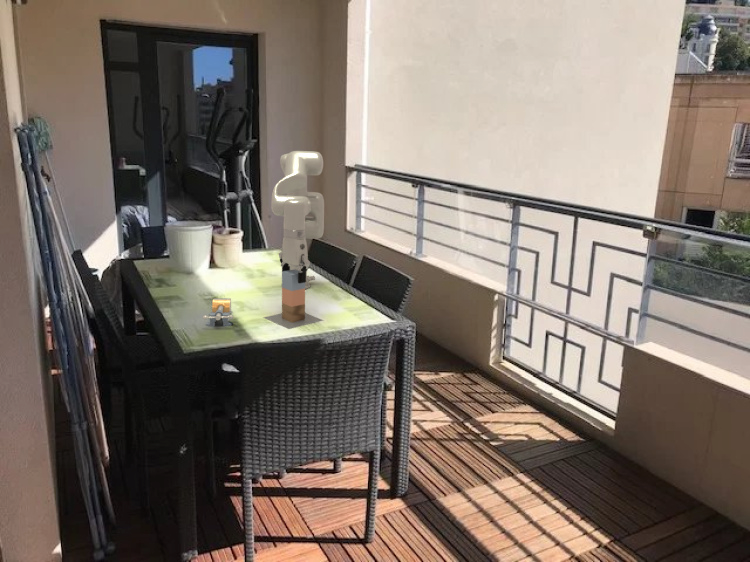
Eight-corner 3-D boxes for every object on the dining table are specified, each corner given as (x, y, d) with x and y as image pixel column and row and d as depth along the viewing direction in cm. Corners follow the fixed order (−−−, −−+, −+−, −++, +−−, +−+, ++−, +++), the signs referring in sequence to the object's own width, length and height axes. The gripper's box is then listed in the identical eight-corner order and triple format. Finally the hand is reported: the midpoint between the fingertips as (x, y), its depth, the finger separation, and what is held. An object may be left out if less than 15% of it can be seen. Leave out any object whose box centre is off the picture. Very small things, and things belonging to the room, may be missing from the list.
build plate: (297, 312, 242) (297, 309, 242) (323, 323, 231) (323, 320, 231) (263, 320, 231) (263, 317, 231) (288, 332, 221) (288, 329, 220)
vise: (208, 313, 237) (208, 296, 235) (236, 313, 238) (236, 297, 237) (203, 329, 220) (202, 311, 218) (233, 329, 221) (232, 311, 220)
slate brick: (295, 284, 232) (295, 269, 231) (305, 288, 228) (305, 272, 226) (282, 287, 228) (282, 271, 226) (291, 291, 224) (292, 274, 222)
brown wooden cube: (294, 315, 235) (295, 300, 234) (304, 319, 231) (305, 304, 230) (282, 318, 231) (282, 302, 230) (291, 322, 227) (291, 306, 225)
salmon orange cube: (295, 300, 234) (295, 284, 232) (304, 304, 230) (305, 288, 228) (282, 302, 230) (282, 287, 228) (291, 306, 225) (291, 291, 224)
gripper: (317, 236, 219) (316, 283, 224) (288, 228, 231) (287, 273, 236) (300, 238, 214) (300, 286, 219) (271, 230, 226) (271, 276, 231)
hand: (293, 279), depth 227 cm, fingers open, 9 cm apart
